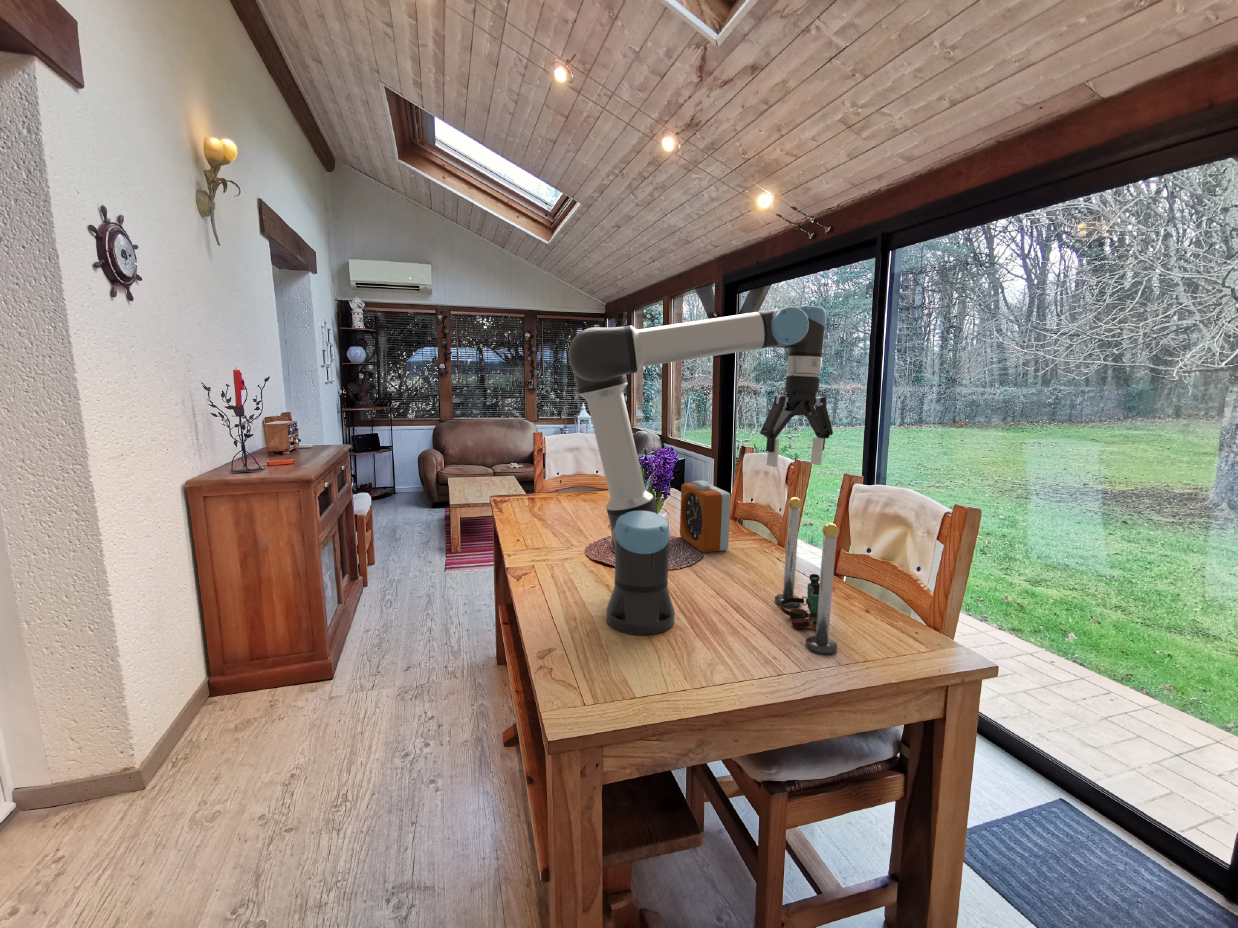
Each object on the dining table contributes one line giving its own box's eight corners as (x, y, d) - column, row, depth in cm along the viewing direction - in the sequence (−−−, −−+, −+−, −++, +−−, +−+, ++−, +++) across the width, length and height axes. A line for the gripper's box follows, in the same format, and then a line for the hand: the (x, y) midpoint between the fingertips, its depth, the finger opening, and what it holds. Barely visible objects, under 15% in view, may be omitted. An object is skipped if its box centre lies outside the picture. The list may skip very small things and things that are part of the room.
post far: (778, 607, 133) (786, 500, 128) (771, 597, 139) (778, 494, 134) (804, 608, 133) (812, 500, 128) (796, 597, 139) (803, 494, 134)
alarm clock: (678, 536, 187) (680, 476, 184) (702, 534, 190) (705, 474, 187) (703, 554, 170) (705, 487, 167) (729, 551, 173) (732, 486, 169)
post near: (811, 655, 111) (821, 527, 107) (801, 640, 117) (810, 519, 112) (841, 655, 111) (852, 527, 107) (830, 640, 117) (840, 519, 113)
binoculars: (778, 572, 129) (824, 571, 126) (780, 616, 130) (825, 616, 128) (781, 586, 120) (830, 586, 118) (783, 633, 121) (832, 634, 119)
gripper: (771, 373, 123) (762, 469, 126) (854, 377, 133) (844, 466, 137) (749, 372, 129) (742, 463, 133) (830, 376, 140) (821, 460, 144)
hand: (794, 465), depth 135 cm, fingers open, 13 cm apart
